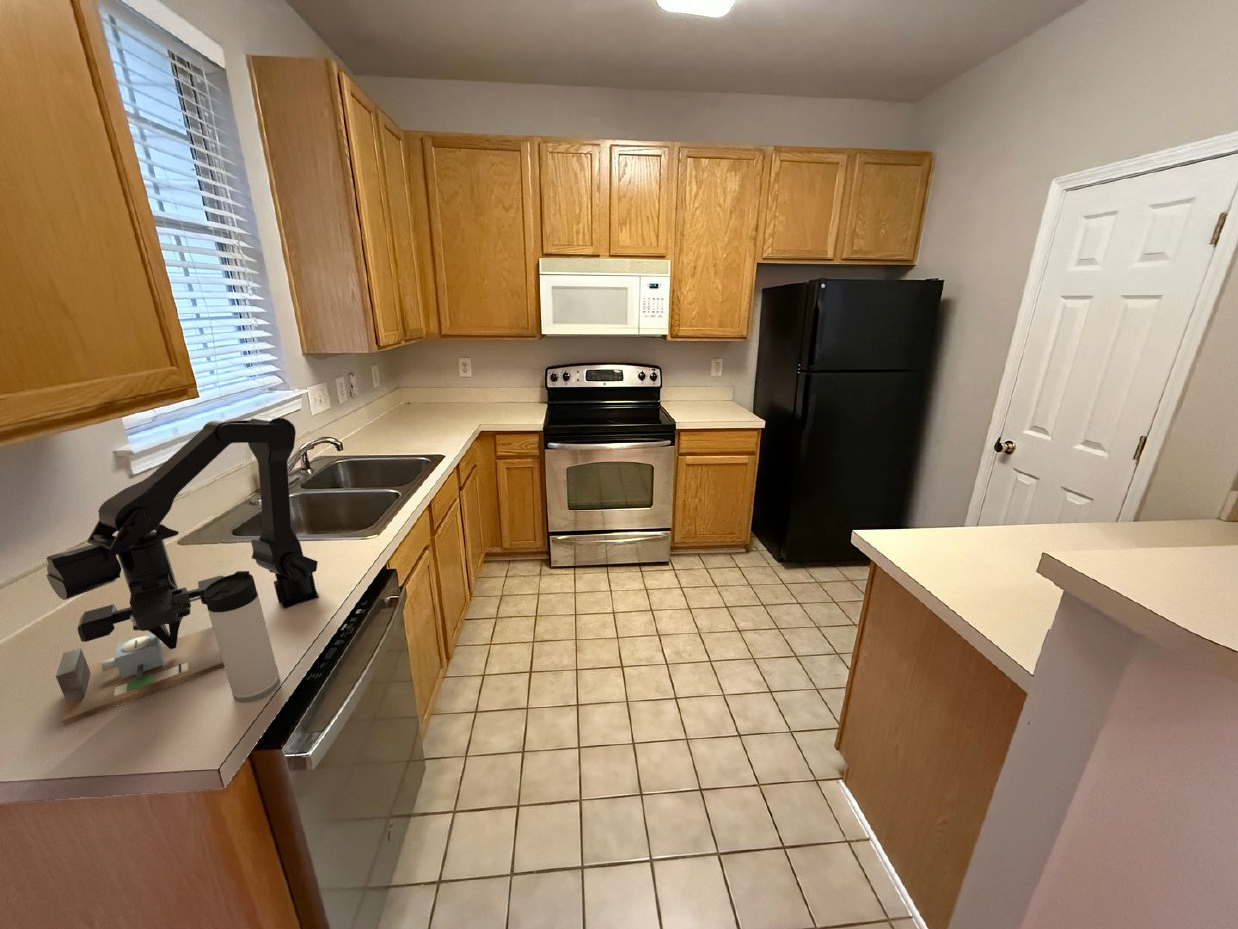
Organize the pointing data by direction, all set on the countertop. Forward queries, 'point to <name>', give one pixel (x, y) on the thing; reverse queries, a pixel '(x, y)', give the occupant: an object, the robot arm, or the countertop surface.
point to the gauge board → (133, 676)
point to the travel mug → (242, 636)
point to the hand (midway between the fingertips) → (173, 647)
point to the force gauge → (136, 656)
